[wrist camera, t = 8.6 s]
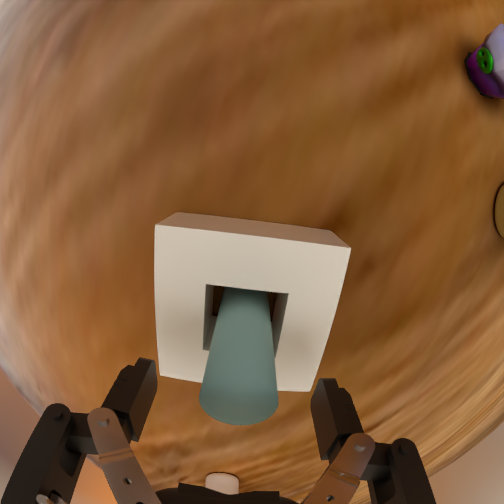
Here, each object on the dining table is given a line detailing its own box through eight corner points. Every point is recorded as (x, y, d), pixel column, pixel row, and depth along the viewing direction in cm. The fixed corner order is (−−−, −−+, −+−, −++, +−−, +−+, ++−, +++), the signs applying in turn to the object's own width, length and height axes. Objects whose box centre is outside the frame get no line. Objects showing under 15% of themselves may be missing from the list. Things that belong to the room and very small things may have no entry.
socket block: (177, 211, 21) (155, 224, 16) (330, 230, 21) (351, 248, 16) (174, 340, 24) (160, 375, 19) (301, 355, 24) (309, 391, 20)
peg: (225, 270, 22) (199, 370, 10) (270, 275, 22) (285, 379, 11) (222, 309, 23) (199, 420, 12) (264, 313, 23) (271, 427, 12)
